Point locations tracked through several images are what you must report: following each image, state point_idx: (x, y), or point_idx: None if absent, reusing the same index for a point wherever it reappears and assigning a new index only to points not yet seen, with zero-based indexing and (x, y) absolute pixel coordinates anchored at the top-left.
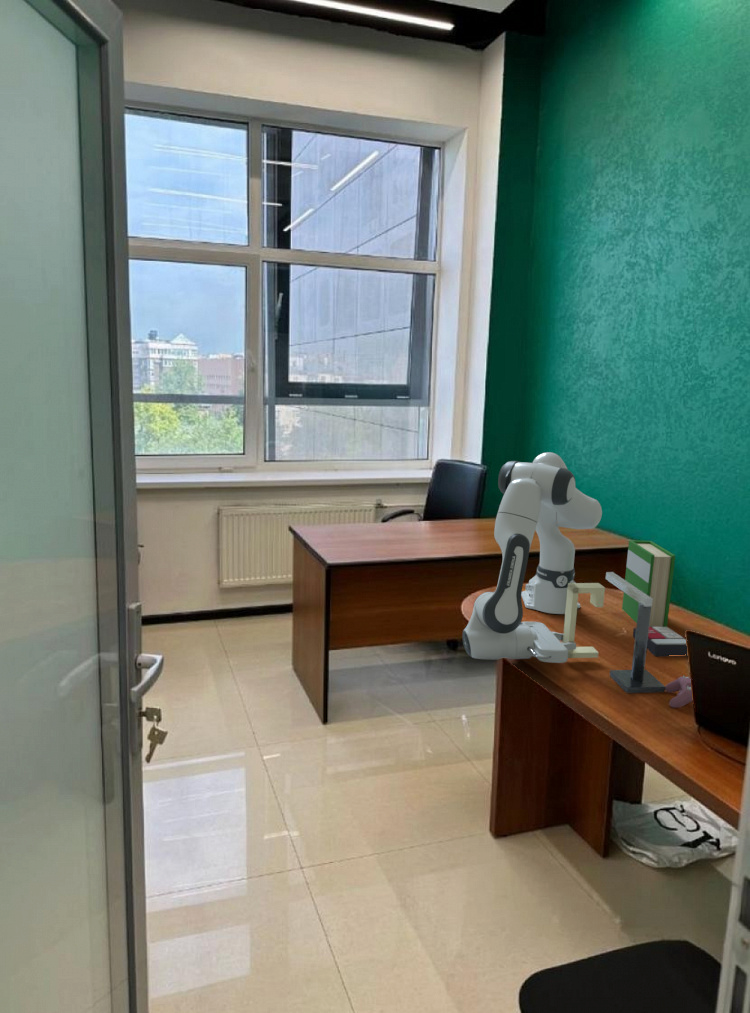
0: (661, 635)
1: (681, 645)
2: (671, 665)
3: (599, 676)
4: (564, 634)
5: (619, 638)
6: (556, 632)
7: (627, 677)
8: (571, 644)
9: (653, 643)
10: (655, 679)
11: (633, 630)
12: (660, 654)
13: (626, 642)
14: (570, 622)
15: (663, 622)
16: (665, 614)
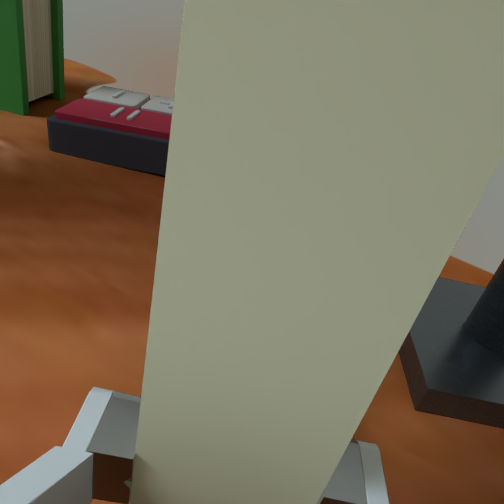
0: (168, 115)
1: None
2: None
3: (437, 468)
4: (175, 442)
5: (39, 177)
6: (3, 488)
7: (497, 364)
8: (381, 500)
9: None
10: (480, 290)
11: (52, 127)
12: None
13: (86, 182)
14: (429, 289)
15: (52, 78)
16: (58, 49)
